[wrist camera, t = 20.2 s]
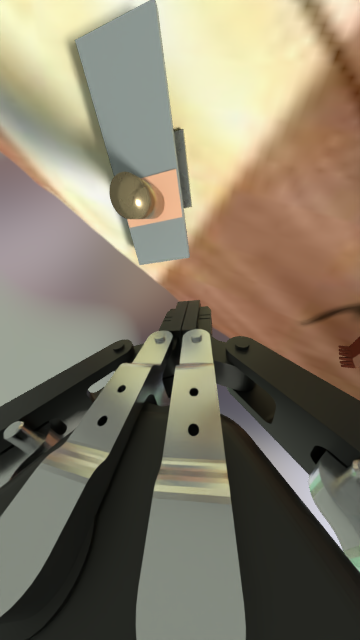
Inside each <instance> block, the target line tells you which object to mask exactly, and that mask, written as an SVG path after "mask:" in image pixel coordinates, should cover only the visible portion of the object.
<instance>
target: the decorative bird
mask: <svg viewBox="0 0 360 640" xmlns="http://www.w3.org/2000/svg"><path fill="white" fill-rule="evenodd" d="M339 348H341V349H339V351H340V352H343V353H340V352H339V355H342V356H346V357H339V359H341V360H346V361H340V363H341V364H344V365H341V367H348V368H358V367H360V337H359V338H358V339H357V340H356V341H355V342H354V343H353V344H351V345H350V346H339ZM344 349H345V350H344Z"/></svg>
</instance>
